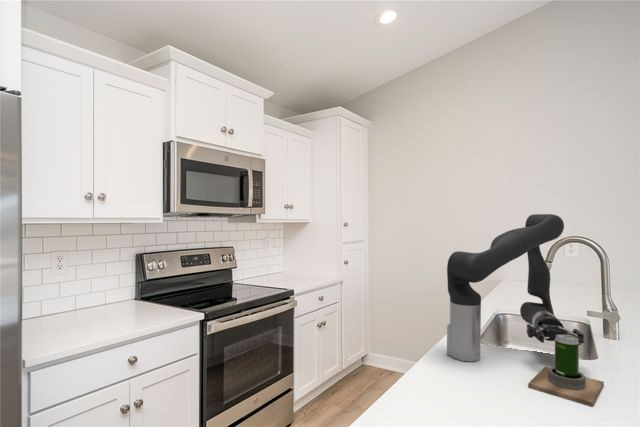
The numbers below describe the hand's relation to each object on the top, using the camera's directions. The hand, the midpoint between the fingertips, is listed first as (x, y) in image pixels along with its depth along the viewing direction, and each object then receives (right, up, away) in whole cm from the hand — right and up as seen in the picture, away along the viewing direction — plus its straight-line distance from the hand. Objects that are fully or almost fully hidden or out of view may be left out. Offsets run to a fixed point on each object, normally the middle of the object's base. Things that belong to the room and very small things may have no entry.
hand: (559, 341), depth 108 cm
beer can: (-2, -9, -6) cm, 11 cm away
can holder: (-2, -10, -6) cm, 12 cm away
